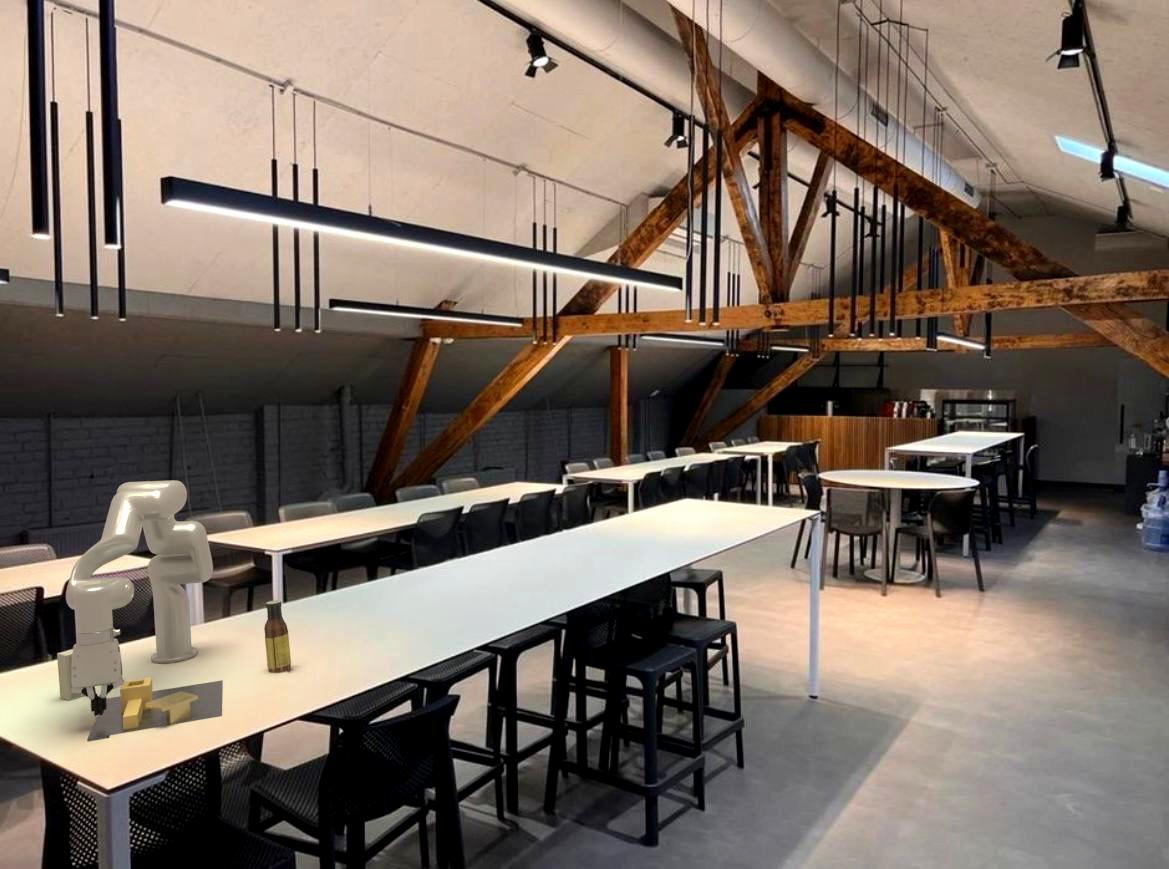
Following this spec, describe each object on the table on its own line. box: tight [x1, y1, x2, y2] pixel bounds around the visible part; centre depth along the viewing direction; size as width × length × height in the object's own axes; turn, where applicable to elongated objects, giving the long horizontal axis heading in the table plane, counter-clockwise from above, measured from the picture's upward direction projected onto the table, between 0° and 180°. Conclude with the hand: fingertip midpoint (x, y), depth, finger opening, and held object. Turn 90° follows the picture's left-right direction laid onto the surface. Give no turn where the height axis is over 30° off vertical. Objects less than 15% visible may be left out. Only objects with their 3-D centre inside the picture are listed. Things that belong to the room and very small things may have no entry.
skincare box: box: [56, 648, 85, 701], centre depth 214 cm, size 6×4×12 cm
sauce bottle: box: [264, 599, 292, 674], centre depth 228 cm, size 6×6×20 cm
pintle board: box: [86, 680, 224, 742], centre depth 202 cm, size 29×28×6 cm
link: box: [119, 676, 153, 730], centre depth 198 cm, size 18×6×6 cm, turn 24°
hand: (99, 713), depth 192 cm, fingers closed
